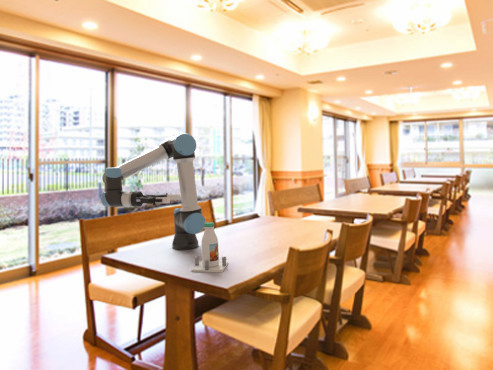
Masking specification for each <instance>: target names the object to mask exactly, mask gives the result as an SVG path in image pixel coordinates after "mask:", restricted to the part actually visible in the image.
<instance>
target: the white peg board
mask: <svg viewBox="0 0 493 370" xmlns="http://www.w3.org/2000/svg"><path fill="white" fill-rule="evenodd" d="M228 264H229V261H228V260H227V256H221V260H219V264H218V266H215V267H209V260H205V267H204V266H203V265H202V260H200V256H199V255H195V256H194V265H195V266H194V267H192V269H191V272H192V273H194V272H195V273H223V271H224V270H225V269H226V267H227V266H228Z"/></svg>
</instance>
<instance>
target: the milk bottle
mask: <svg viewBox="0 0 493 370" xmlns="http://www.w3.org/2000/svg"><path fill="white" fill-rule="evenodd" d="M219 255H220V254H219V239H218V236H217V234H216V231H215V223H214V222H213V221H212V222H211V221H208V222H207V221H206V223H204V232H203V235H202V238H201V261H202V265H203V266H204V267H205V260H209V267H215V266H218V264H219V261H220V258H219Z"/></svg>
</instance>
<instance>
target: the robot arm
mask: <svg viewBox="0 0 493 370" xmlns="http://www.w3.org/2000/svg"><path fill="white" fill-rule="evenodd" d="M196 149H197V141H196V139H195V137H194V136H193V135H192V134H190V133H184V132H183V133H182V132H181V133H177V134H174V135H172V136H171V137H169V138H167V139H166V140H165V141H163V142H161V143H159V144H158V145H157V147H154V148H153V149H149V151H146V152H145V153H143V154H141V155H138V156H136V157H134V158H132V159H130V160H128V161H126V162H124V163H122V164H120V165H118V166H116V167H105V171H104V173H103V174H102V181H103V183H104V184H105V191H104V192H102V194H101V197H100V202H101V205H102V206H104V207H108V208H109V207H110V208H118V207H119V208H121V207H122V208H123V207H124V208H125V207H126V208H128V209H129V208H130V207H134V208H136V207H139V208H141V207H142V206H143V205H144V204H149V205H153V206H156V204H171V201H180V200H181V207H179V208H174V210H173V216H174V217H173V221H174V236H173V240H172V243H171V247H172V249H174V250H179V251H180V250H192V249H196V248H198V247H199V241H198V237H197V234H199V233H201V232H202V231H203V230H205V228H204V223H207V221H206V218H205V216H204V215H203V211H202V210H203V209H202V207H201V205H200V204H199V202H198V195H197V194H198V193H197V185H196V177H195V169H194V168H195V167H194V160H195V159H196V154H195V152H196ZM169 159H172V160H173V161H174V162H175V164H176V167H177V168H176V169H177V175H178V183H179V184H178V185H179V192H180V193H178V194H177V193H175V194H168V193H167V192H166V193H165V194H144V193H143V192H142V191H140V190H138V191H136V190H135V191H132V190H131V191H130V190H129V191H125V190H124V191H123V181H124V180H125V179H128V178H130V177H131V176H134V175H135V174H137V173H140V172H141V171H143V170H146V169H148V168H149V167H151V166H153V165H155V164H158V163H160V162H162V161H163V160H169Z"/></svg>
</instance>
